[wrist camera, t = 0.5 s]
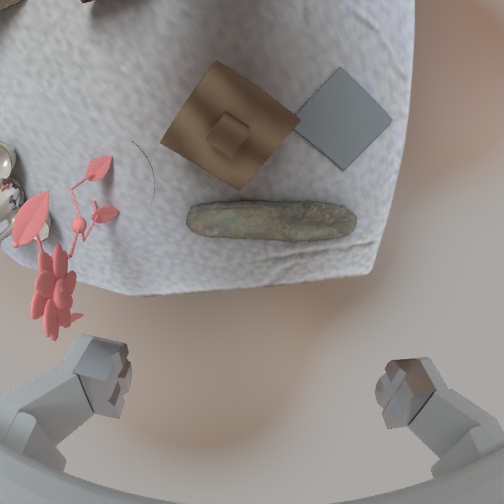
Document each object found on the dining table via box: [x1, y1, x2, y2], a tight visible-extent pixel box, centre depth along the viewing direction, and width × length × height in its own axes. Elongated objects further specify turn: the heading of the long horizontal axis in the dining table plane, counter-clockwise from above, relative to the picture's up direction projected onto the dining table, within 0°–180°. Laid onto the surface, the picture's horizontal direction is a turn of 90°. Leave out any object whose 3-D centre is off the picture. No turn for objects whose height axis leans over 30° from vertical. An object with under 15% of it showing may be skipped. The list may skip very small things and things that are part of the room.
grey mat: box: [294, 67, 393, 170], centre depth 47 cm, size 14×14×1 cm
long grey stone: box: [186, 200, 357, 243], centre depth 60 cm, size 35×5×10 cm
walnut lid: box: [160, 60, 301, 191], centre depth 37 cm, size 14×14×4 cm
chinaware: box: [0, 141, 51, 244], centre depth 47 cm, size 28×17×17 cm, turn 19°
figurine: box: [12, 141, 155, 341], centre depth 42 cm, size 15×26×35 cm, turn 170°
